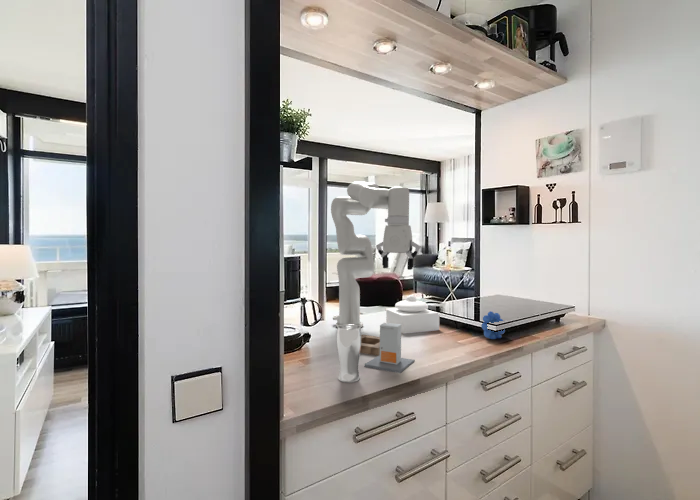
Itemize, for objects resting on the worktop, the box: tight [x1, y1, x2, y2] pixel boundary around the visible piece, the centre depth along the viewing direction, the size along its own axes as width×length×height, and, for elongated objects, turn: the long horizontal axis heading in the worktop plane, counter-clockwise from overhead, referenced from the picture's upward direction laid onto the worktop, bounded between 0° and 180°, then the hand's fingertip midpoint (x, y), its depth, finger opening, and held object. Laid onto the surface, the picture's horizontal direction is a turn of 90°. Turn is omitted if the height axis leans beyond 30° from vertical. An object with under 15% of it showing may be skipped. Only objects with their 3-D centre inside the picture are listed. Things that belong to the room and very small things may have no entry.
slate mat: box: [363, 355, 415, 374], centre depth 117 cm, size 12×12×1 cm
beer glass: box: [336, 324, 362, 384], centre depth 105 cm, size 7×7×15 cm
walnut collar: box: [360, 334, 380, 357], centre depth 136 cm, size 14×14×3 cm
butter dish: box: [385, 294, 440, 335], centre depth 166 cm, size 18×18×16 cm
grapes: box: [480, 311, 506, 340], centre depth 145 cm, size 12×7×12 cm, turn 115°
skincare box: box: [379, 322, 402, 365], centre depth 117 cm, size 6×4×12 cm
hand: (397, 268), depth 134 cm, fingers open, 9 cm apart
